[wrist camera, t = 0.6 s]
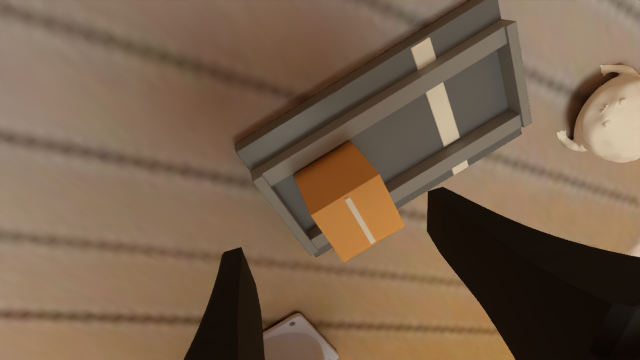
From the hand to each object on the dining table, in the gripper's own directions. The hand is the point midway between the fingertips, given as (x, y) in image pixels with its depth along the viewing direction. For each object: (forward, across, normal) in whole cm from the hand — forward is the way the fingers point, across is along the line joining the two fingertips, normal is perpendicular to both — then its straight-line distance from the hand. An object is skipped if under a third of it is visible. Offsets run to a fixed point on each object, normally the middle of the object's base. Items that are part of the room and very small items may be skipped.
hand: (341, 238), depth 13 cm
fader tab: (+9, -2, +4) cm, 10 cm away
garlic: (+11, -24, +6) cm, 27 cm away
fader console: (+10, -6, +2) cm, 12 cm away
